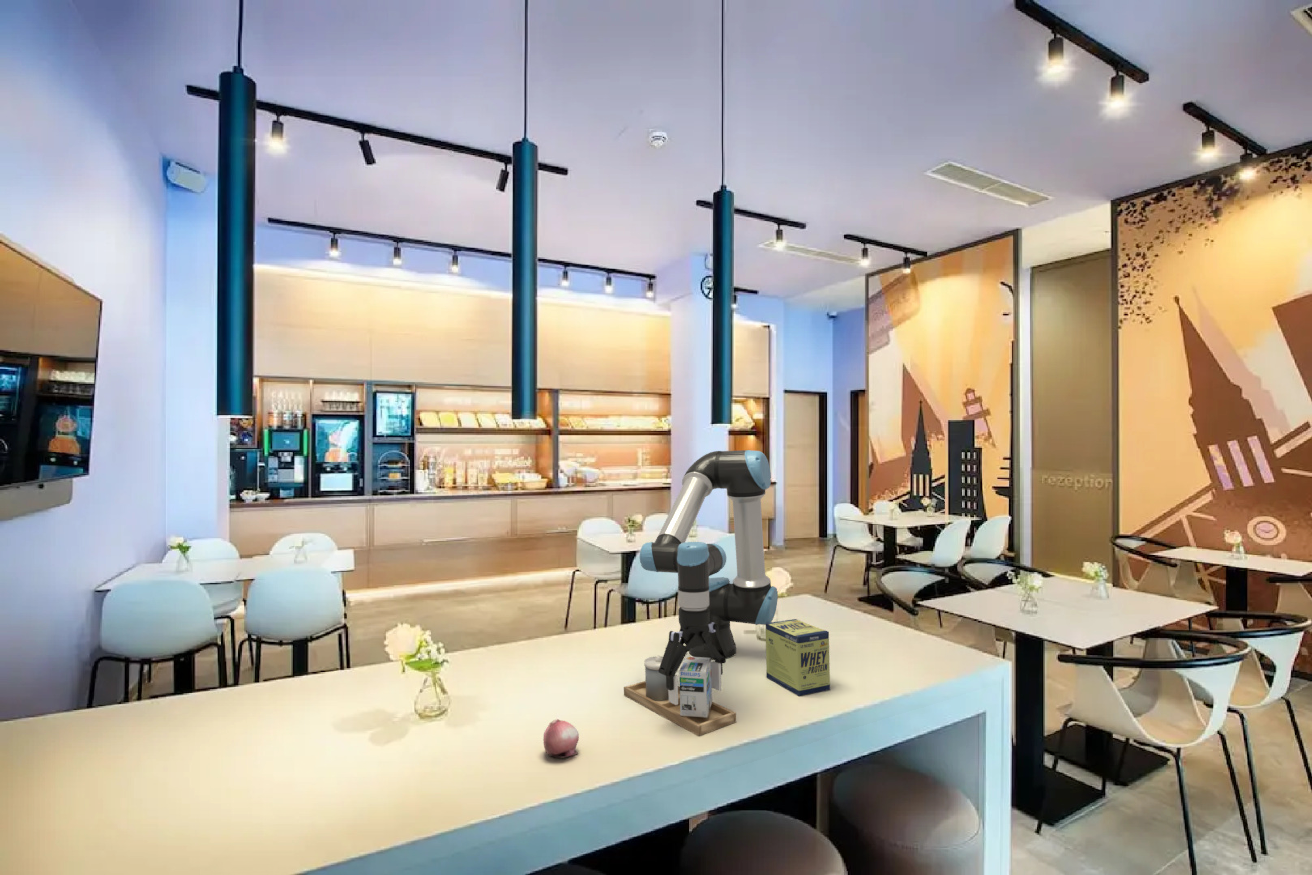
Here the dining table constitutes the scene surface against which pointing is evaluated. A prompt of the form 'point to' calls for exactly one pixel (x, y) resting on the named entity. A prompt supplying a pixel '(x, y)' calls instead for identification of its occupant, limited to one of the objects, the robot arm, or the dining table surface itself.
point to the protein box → (797, 656)
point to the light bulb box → (695, 686)
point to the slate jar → (655, 680)
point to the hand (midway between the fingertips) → (695, 695)
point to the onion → (560, 739)
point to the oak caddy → (670, 711)
